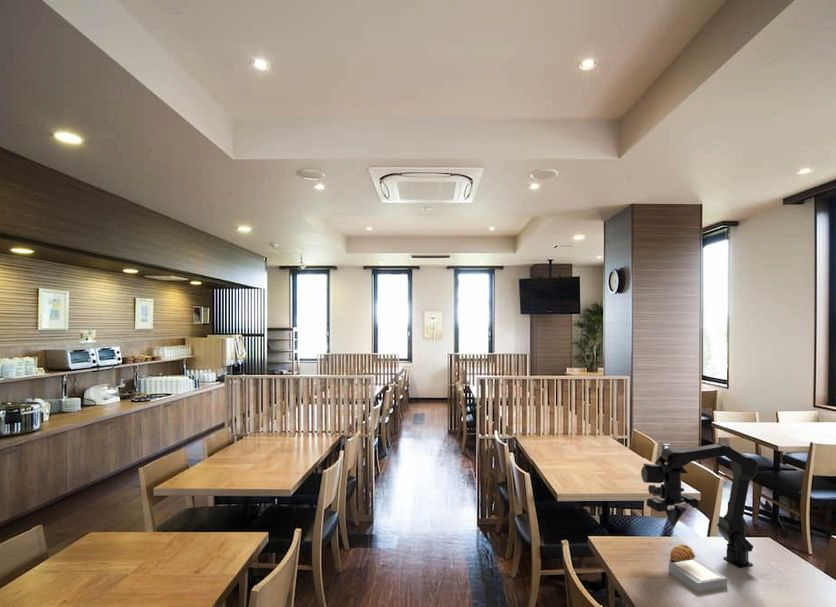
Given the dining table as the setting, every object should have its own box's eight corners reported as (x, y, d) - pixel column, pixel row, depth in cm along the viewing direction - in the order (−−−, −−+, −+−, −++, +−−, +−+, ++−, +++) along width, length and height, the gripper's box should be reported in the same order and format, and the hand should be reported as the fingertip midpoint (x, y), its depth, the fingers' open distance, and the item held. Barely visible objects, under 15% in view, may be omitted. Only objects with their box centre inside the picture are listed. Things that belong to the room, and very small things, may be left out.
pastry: (684, 567, 157) (684, 557, 157) (664, 558, 163) (665, 548, 163) (696, 559, 163) (696, 548, 163) (677, 550, 168) (677, 540, 168)
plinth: (696, 567, 158) (695, 558, 158) (727, 587, 146) (726, 577, 146) (668, 572, 155) (668, 562, 155) (698, 592, 143) (697, 582, 143)
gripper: (675, 474, 175) (675, 513, 174) (635, 478, 170) (636, 518, 170) (699, 484, 164) (700, 526, 164) (658, 489, 159) (658, 532, 159)
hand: (672, 525), depth 164 cm, fingers closed
